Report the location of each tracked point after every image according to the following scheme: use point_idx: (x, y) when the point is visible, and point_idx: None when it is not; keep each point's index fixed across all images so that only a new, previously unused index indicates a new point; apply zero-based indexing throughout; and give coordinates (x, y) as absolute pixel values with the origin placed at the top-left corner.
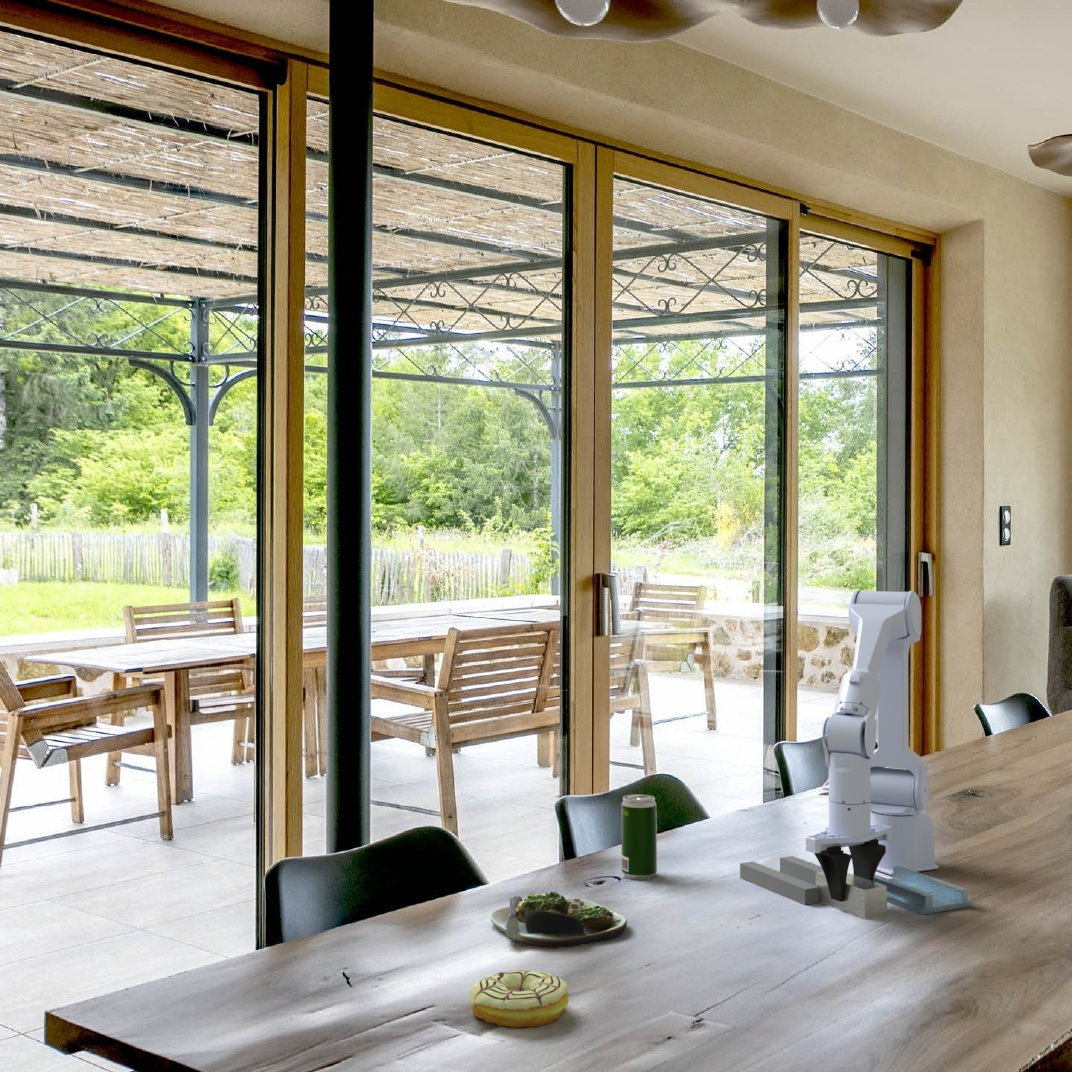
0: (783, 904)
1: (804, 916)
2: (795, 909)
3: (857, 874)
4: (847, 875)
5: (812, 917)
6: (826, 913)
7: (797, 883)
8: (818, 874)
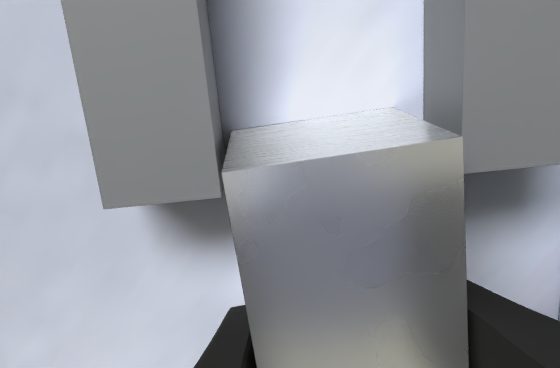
0: (13, 123)
1: (35, 340)
2: (41, 228)
3: (479, 352)
4: (415, 317)
5: (68, 364)
6: (167, 334)
7: (121, 58)
8: (229, 205)
